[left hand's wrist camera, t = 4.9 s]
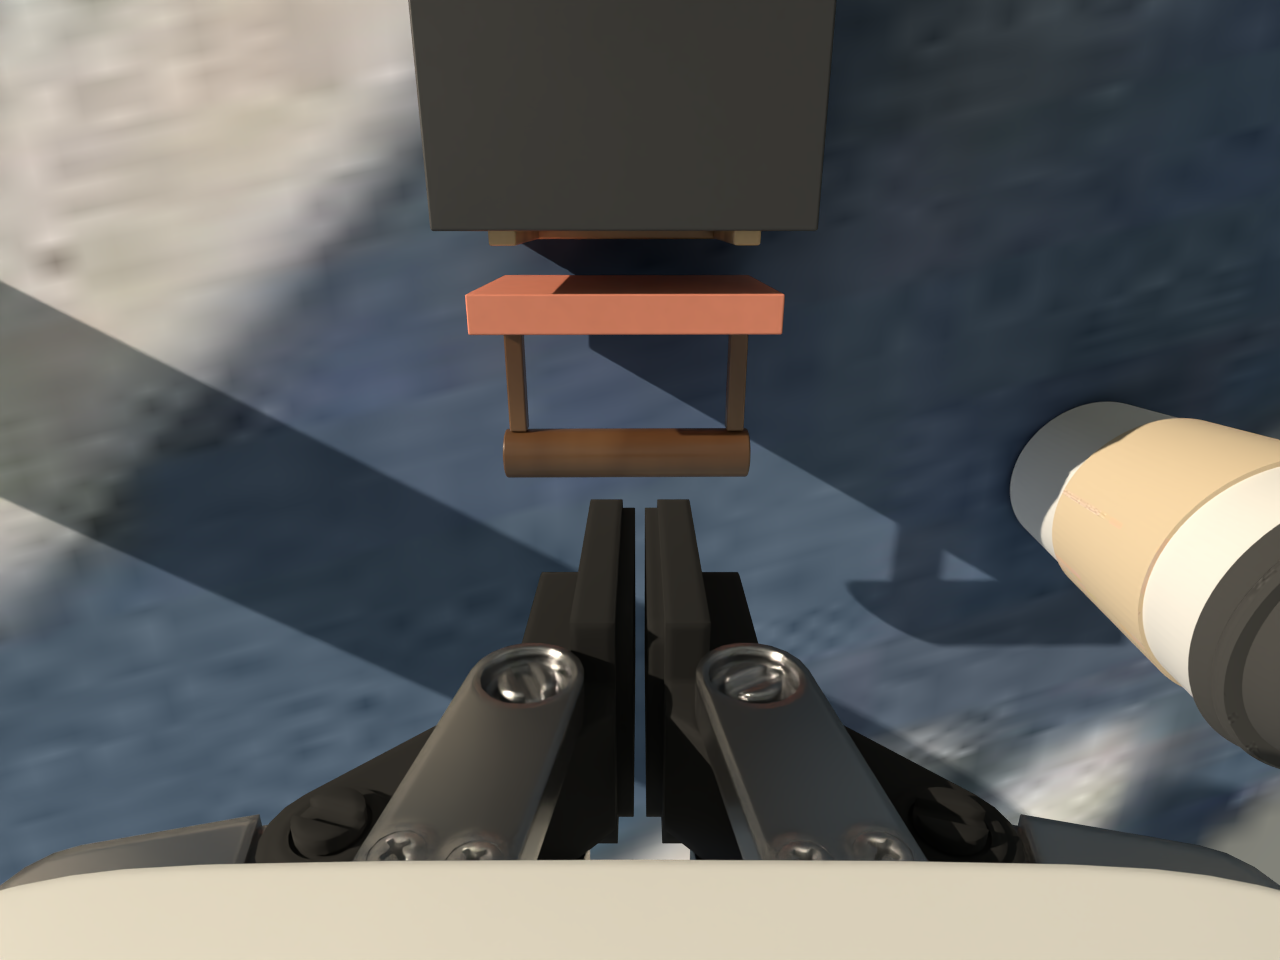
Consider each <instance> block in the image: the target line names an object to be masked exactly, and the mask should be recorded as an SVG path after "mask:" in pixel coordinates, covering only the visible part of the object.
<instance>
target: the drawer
mask: <svg viewBox="0 0 1280 960" xmlns="http://www.w3.org/2000/svg"><path fill="white" fill-rule="evenodd" d="M488 236H489V245H491V246H515V245H518V244H522V243H525V242H529V241H532V240H536V239H718V240H721V241H724V242H727V243H730V244H734V245H759V244H760V242H761V231H488ZM465 298H466V310H467V322H468V333H469V335H504V347H505V362H506V377H507V392H508V407H509V422H510V429H507V430H506V432H505V435H504V442H503V462H504V470H505V473H506V476H507V477H745V476H747V475H748V472H749V467H750V437H749V432H748V430H747V429H746V428H743V427H744V408H745V389H746V370H747V351H748V334H782V328H783V314H784V299H785V295H784V294H783V293H781V292H779V291H777V290H775V289H773V288H771V287H770V286H768V285H766V284H764V283H762V282H760V281H758V280H757V279H755V278H753V277H751V276H749V275H505V276H503V277H501V278H499V279H497V280H495V281H493V282H491V283H489V284H487V285H485V286H483V287H481V288H478V289H476V290H474V291H472V292H470V293H468V294H466V296H465ZM692 334H729V340H728V363H727V386H726V410H725V427H726V428H630V429H528V427H529V419H528V401H527V383H526V366H525V348H524V335H692Z"/></svg>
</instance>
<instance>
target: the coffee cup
mask: <svg viewBox="0 0 1280 960" xmlns="http://www.w3.org/2000/svg"><path fill="white" fill-rule="evenodd" d="M1010 498H1011V504H1012V508H1013V510H1014V513H1015V515H1016V517H1017V519H1018V520H1019V522H1020V523H1021V525H1022V526H1023V527H1024V528H1025V529H1026V530H1027V531H1028V532H1029V533H1030V534H1031V535H1032V536H1033V537H1034V538H1035V539H1036V540H1037V541H1038V542H1039V543H1040V544H1041V545H1042V546H1043V547H1044V548H1045V549H1046V550H1047V551H1048V552H1049V553H1050V554H1051V555H1052V556H1053V557H1054V558H1055V559H1056V560H1057V561H1058V563H1059V565H1060V567H1061V568H1062V570H1063V571H1064V573H1065V574H1066V575H1067V576H1068V577H1069V578H1070V580H1071V581H1072V582H1073V583H1074V584H1075V585H1076V586H1077V587H1078V588H1079V589H1080V590H1081V591H1082V592H1083V593H1084V594H1085V595H1086V596H1087V597H1088V598H1089V599H1090V600H1091V601H1092V602H1093V603H1094V604H1095V605H1096V606H1097V607H1098V608H1099V609H1100V610H1101V611H1102V612H1103V613H1104V614H1105V615H1106V616H1107V617H1108V618H1109V619H1110V620H1111V621H1112V622H1113V623H1114V624H1115V625H1116V626H1117V627H1118V628H1119V629H1120V630H1121V631H1122V632H1123V633H1124V634H1125V636H1126V637H1127V638H1128V639H1129V640H1130V641H1131V642H1132V643H1133V644H1134V645H1135V646H1136V647H1137V648H1138V649H1139V650H1140V651H1141V652H1142V653H1143V654H1144V655H1145V656H1146V657H1147V658H1148V659H1149V660H1150V661H1151V662H1152V663H1153V664H1154V665H1155V666H1156V667H1157V668H1158V669H1159V670H1160V671H1161V672H1162V673H1163V674H1164V675H1165V676H1166V677H1168V678H1169V679H1170V680H1172V681H1173V682H1175V683H1176V684H1178V685H1180V686H1181V687H1183V688H1184V689H1185V690H1186V691H1187V692H1188V693H1189V694H1190V695H1191V696H1192V697H1193V698H1194V701H1195V703H1196V705H1197V707H1198V709H1199V711H1200V713H1201V714H1202V716H1203V717H1204V719H1205V720H1206V721H1207V722H1208V723H1209V725H1210V726H1211V727H1212V728H1213V729H1214V730H1215V731H1216V732H1218V733H1219V734H1220V735H1221V736H1223V737H1224V738H1225V739H1227V740H1228V741H1230V742H1232V743H1233V744H1235V745H1237V746H1239V747H1241V748H1242V749H1243V750H1244V751H1245V752H1247V753H1248V754H1249V755H1251V756H1252V757H1254V758H1256V759H1257V760H1259V761H1261V762H1263V763H1265V764H1267V765H1270V766H1273V767H1275V768H1279V769H1280V440H1278V439H1274V438H1270V437H1266V436H1262V435H1259V434H1255V433H1251V432H1247V431H1243V430H1239V429H1235V428H1231V427H1227V426H1223V425H1219V424H1215V423H1211V422H1207V421H1203V420H1198V419H1190V418H1177V417H1173V416H1169V415H1166V414H1162V413H1158V412H1154V411H1151V410H1147V409H1143V408H1139V407H1136V406H1132V405H1128V404H1124V403H1119V402H1096V403H1090V404H1086V405H1082V406H1079V407H1076V408H1074V409H1071V410H1069V411H1067V412H1065V413H1063V414H1061V415H1059V416H1057V417H1056V418H1054V419H1053V420H1051V421H1050V422H1049V423H1047V424H1046V425H1045V426H1044V427H1042V428H1041V429H1040V430H1039V431H1038V432H1037V433H1036V434H1035V435H1034V436H1033V437H1032V438H1031V440H1030V441H1029V442H1028V443H1027V445H1026V446H1025V447H1024V449H1023V451H1022V452H1021V454H1020V456H1019V458H1018V460H1017V462H1016V464H1015V467H1014V470H1013V473H1012V477H1011V483H1010Z"/></svg>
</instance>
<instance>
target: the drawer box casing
mask: <svg viewBox="0 0 1280 960" xmlns="http://www.w3.org/2000/svg"><path fill="white" fill-rule="evenodd" d="M408 2H409V12H410V22H411V33H412V43H413V53H414V64H415V74H416V84H417V95H418V105H419V115H420V126H421V136H422V146H423V157H424V167H425V177H426V188H427V198H428V208H429V219H430V228H431V230H432V231H816V230H817V229H818V219H819V207H820V195H821V183H822V171H823V158H824V146H825V134H826V122H827V110H828V97H829V85H830V73H831V61H832V48H833V36H834V24H835V12H836V0H408Z"/></svg>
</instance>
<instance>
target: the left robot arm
mask: <svg viewBox="0 0 1280 960" xmlns="http://www.w3.org/2000/svg"><path fill="white" fill-rule="evenodd" d="M634 738H635V508H623V500H591V501H590V507H589V513H588V518H587V524H586V530H585V536H584V542H583V547H582V553H581V559H580V565H579V570H578V572H542V574H541V576H540V579H539V583H538V587H537V590H536V594H535V597H534V601H533V605H532V608H531V612H530V616H529V619H528V623H527V626H526V630H525V634H524V637H523V641H522V644H517V645H511V646H507V647H505V648H502V649H499V650H496V651H494V652H492V653H490V654H489V655H487V656H486V657H484V658H482V659H481V660H480V661H479V662H478V663H477V664H476V665H475V666H474V667H473V668H472V670H471V671H470V673H469V674H468V676H467V677H466V679H465V681H464V682H463V684H462V685H461V687H460V689H459V690H458V692H457V693H456V695H455V697H454V698H453V700H452V702H451V703H450V705H449V706H448V708H447V710H446V711H445V713H444V714H443V716H442V718H441V719H440V721H439V722H438V724H437V725H436V726H434V727H432V728H430V729H429V730H427V731H425V732H423V733H421V734H419V735H417V736H415V737H413V738H411V739H410V740H408V741H406V742H404V743H402V744H400V745H398V746H396V747H394V748H393V749H391V750H389V751H387V752H385V753H383V754H381V755H379V756H377V757H375V758H374V759H372V760H370V761H368V762H366V763H364V764H362V765H360V766H358V767H357V768H355V769H353V770H351V771H349V772H347V773H345V774H343V775H341V776H339V777H338V778H336V779H334V780H332V781H330V782H328V783H326V784H324V785H322V786H321V787H319V788H317V789H315V790H313V791H311V792H309V793H307V794H305V795H304V796H302V797H301V798H299V799H298V800H296V801H294V802H293V803H291V804H290V805H288V806H287V807H285V808H284V809H283V810H282V811H281V812H280V813H279V814H278V815H277V816H276V817H275V818H274V819H273V820H272V821H271V822H270V823H269V825H264V826H262V823H261V819H260V815H259V814H258V815H253V816H247V817H241V818H235V819H229V820H224V821H218V822H212V823H206V824H201V825H195V826H189V827H183V828H178V829H172V830H166V831H160V832H155V833H149V834H143V835H137V836H131V837H126V838H120V839H114V840H108V841H103V842H97V843H91V844H85V845H80V846H77V847H73V848H70V849H66V850H63V851H59V852H56V853H53V854H51V855H49V856H47V857H45V858H43V859H41V860H39V861H37V862H35V863H33V864H31V865H29V866H27V867H25V868H24V869H22V870H21V871H20V872H18V873H17V874H15V875H14V876H13V877H11V878H10V879H9V880H7V881H6V882H5V883H3V884H2V885H0V960H1280V885H1278V884H1277V883H1275V882H1274V881H1273V880H1271V879H1270V878H1269V877H1267V876H1266V875H1265V874H1263V873H1262V872H1260V871H1259V870H1258V869H1256V868H1255V867H1253V866H1251V865H1249V864H1247V863H1245V862H1243V861H1241V860H1239V859H1237V858H1235V857H1233V856H1231V855H1229V854H1227V853H1224V852H1221V851H1217V850H1214V849H1210V848H1207V847H1203V846H1200V845H1195V844H1189V843H1183V842H1177V841H1172V840H1166V839H1160V838H1154V837H1149V836H1143V835H1137V834H1131V833H1125V832H1120V831H1114V830H1108V829H1102V828H1097V827H1091V826H1085V825H1079V824H1074V823H1068V822H1062V821H1056V820H1051V819H1045V818H1039V817H1033V816H1027V815H1022V814H1021V815H1020V819H1019V823H1018V826H1016V825H1011V823H1010V822H1009V821H1008V820H1007V819H1006V818H1005V817H1004V816H1003V815H1002V814H1001V813H1000V812H999V811H998V810H997V809H996V808H995V807H993V806H992V805H990V804H989V803H987V802H986V801H984V800H982V799H981V798H979V797H978V796H976V795H975V794H973V793H971V792H969V791H967V790H965V789H963V788H961V787H959V786H958V785H956V784H954V783H952V782H950V781H948V780H946V779H944V778H942V777H941V776H939V775H937V774H935V773H933V772H931V771H929V770H927V769H925V768H923V767H922V766H920V765H918V764H916V763H914V762H912V761H910V760H908V759H906V758H905V757H903V756H901V755H899V754H897V753H895V752H893V751H891V750H889V749H887V748H886V747H884V746H882V745H880V744H878V743H876V742H874V741H872V740H870V739H869V738H867V737H865V736H863V735H861V734H859V733H857V732H855V731H853V730H851V729H850V728H848V727H846V726H844V725H843V724H842V722H841V721H840V719H839V718H838V716H837V714H836V713H835V711H834V710H833V708H832V706H831V705H830V703H829V702H828V700H827V698H826V697H825V695H824V693H823V692H822V690H821V689H820V687H819V685H818V684H817V682H816V681H815V679H814V677H813V676H812V674H811V673H810V671H809V670H808V668H807V667H806V666H805V665H804V664H803V663H802V662H801V661H800V660H799V659H798V658H796V657H794V656H793V655H791V654H790V653H788V652H786V651H784V650H781V649H778V648H775V647H773V646H769V645H763V644H758V641H757V637H756V634H755V630H754V626H753V623H752V619H751V616H750V612H749V608H748V605H747V601H746V597H745V594H744V590H743V587H742V583H741V579H740V576H739V574H738V572H702V570H701V565H700V559H699V553H698V547H697V542H696V536H695V530H694V524H693V518H692V513H691V507H690V501H689V500H657V508H645V738H646V817H661V820H662V843H682V844H684V845H685V846H686V847H687V848H689V849H690V860H590V849H591V848H593V847H594V846H595V845H596V844H598V843H618V820H619V817H634Z"/></svg>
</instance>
